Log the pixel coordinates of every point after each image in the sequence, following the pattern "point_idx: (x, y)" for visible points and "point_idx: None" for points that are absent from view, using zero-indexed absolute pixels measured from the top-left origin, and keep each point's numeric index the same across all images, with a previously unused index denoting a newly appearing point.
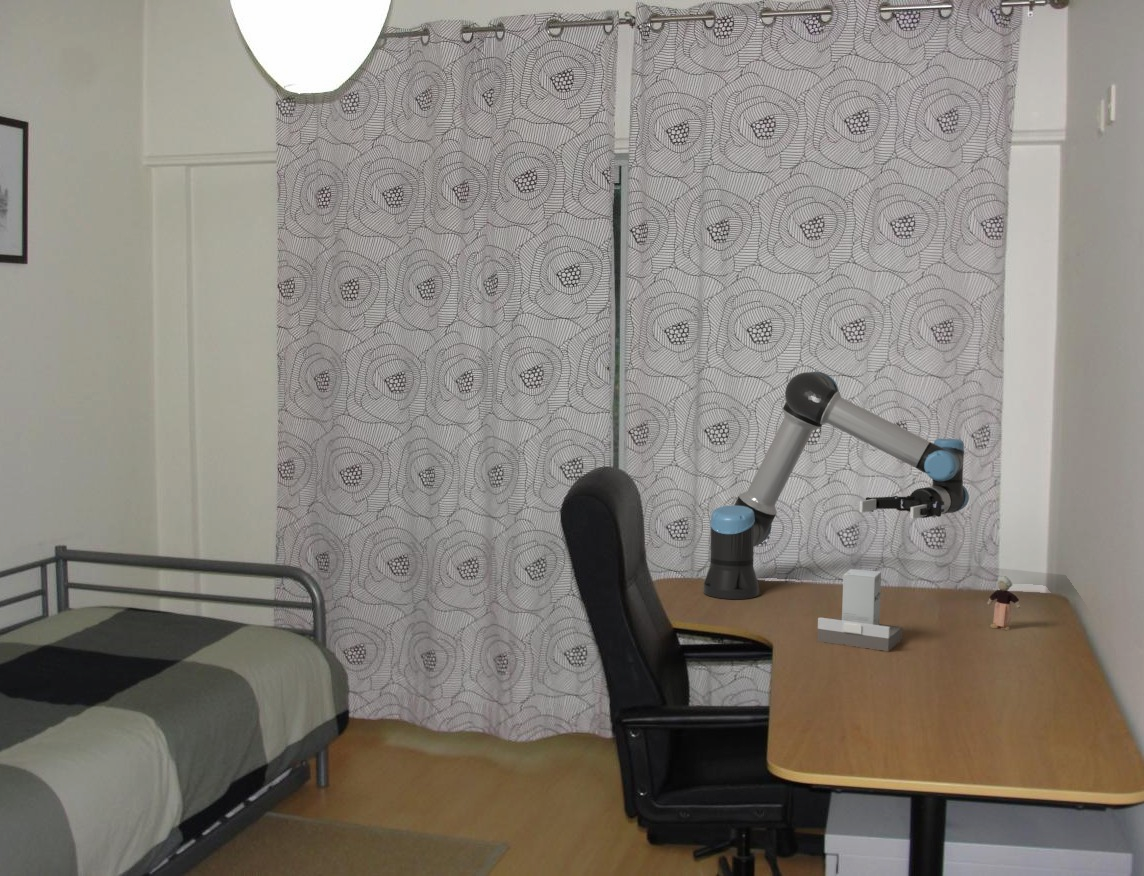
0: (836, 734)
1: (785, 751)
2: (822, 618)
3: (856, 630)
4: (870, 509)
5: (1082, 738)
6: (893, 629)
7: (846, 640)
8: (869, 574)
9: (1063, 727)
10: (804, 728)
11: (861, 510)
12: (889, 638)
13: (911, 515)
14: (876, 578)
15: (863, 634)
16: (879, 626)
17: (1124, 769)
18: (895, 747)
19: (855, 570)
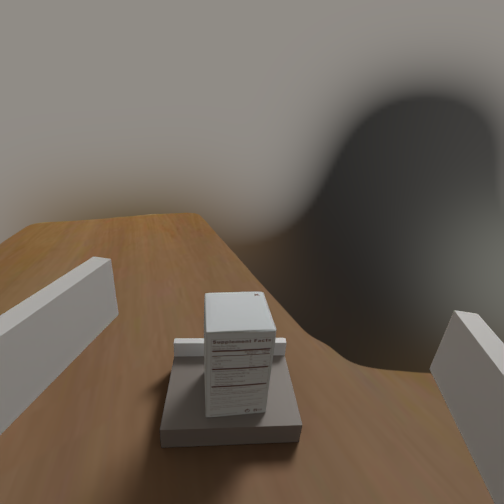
0: (181, 230)
1: (199, 218)
2: (279, 339)
3: None
4: (485, 466)
5: (19, 254)
6: (174, 403)
7: None
8: (219, 301)
9: (24, 262)
10: (199, 230)
11: (439, 360)
12: (174, 356)
13: (110, 299)
14: (204, 303)
15: None
16: (189, 338)
17: (17, 235)
18: (149, 228)
19: (258, 318)
